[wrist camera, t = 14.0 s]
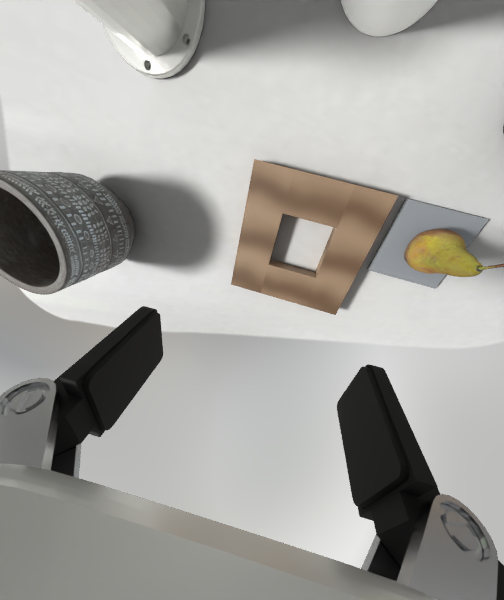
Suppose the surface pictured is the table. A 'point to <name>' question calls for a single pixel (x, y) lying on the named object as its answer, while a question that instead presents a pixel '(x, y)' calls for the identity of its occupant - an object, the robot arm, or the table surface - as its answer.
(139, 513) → the robot arm
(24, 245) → the planter
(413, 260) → the fruit
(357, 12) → the tall pillar cylinder
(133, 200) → the table surface
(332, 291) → the block with square hole
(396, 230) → the coaster
